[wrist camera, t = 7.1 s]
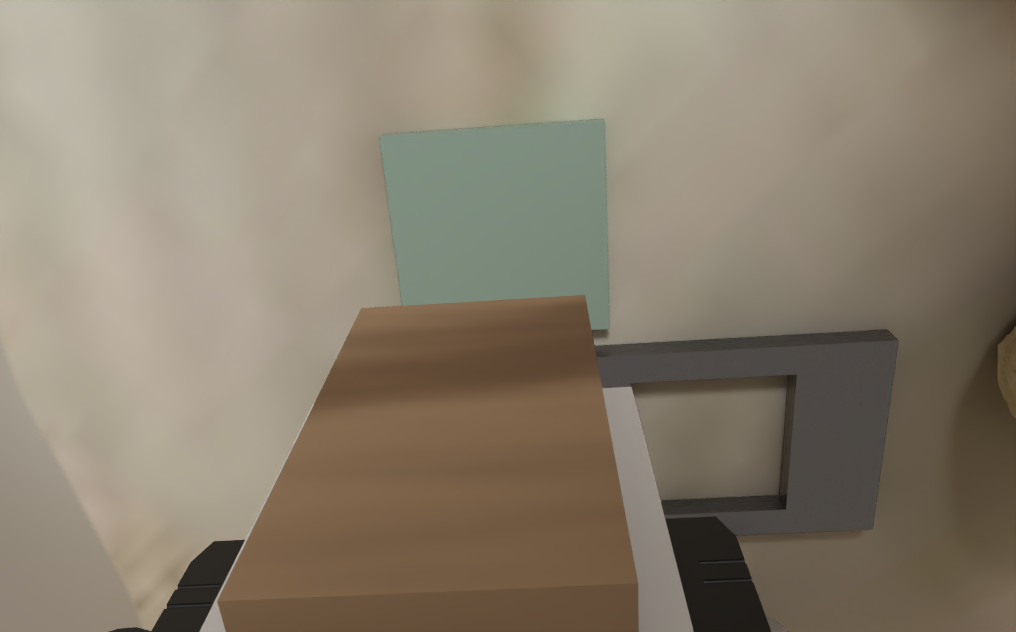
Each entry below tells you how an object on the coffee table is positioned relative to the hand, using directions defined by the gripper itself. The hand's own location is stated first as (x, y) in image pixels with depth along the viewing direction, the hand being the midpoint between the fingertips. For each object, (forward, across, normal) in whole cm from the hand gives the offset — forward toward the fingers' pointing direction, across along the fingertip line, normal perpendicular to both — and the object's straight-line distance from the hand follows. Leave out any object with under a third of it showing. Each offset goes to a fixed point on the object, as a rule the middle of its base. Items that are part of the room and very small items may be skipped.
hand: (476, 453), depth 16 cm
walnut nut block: (+2, 0, 0) cm, 2 cm away
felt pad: (+15, 0, 0) cm, 15 cm away
